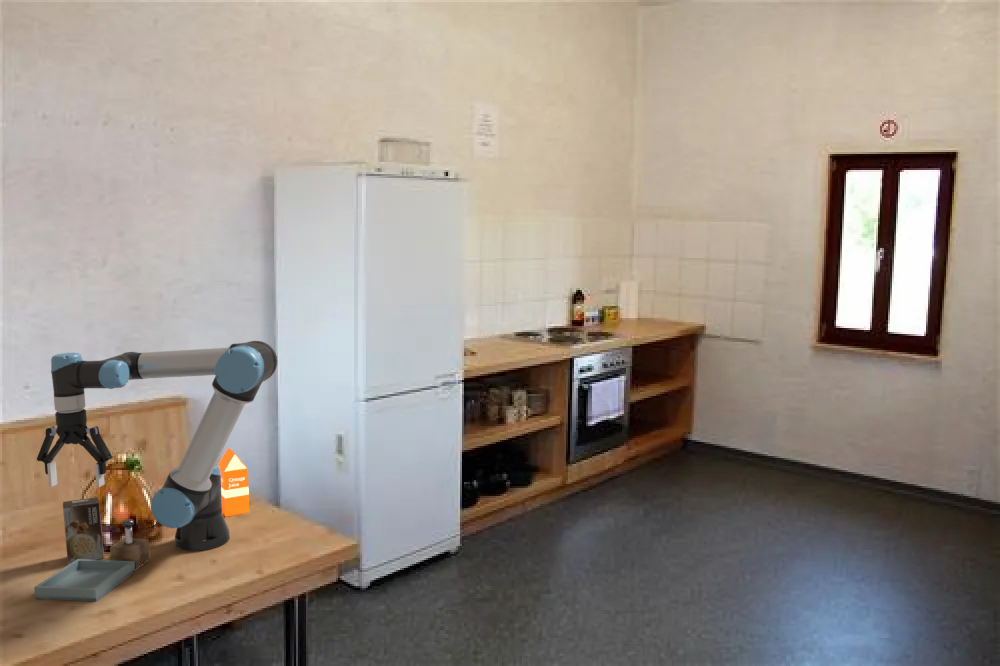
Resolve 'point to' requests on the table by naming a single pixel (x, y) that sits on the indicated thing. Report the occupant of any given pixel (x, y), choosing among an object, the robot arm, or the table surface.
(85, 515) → the coffee box
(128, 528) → the peg
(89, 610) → the table surface
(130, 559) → the walnut block
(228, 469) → the orange juice
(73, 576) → the tray
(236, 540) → the table surface
